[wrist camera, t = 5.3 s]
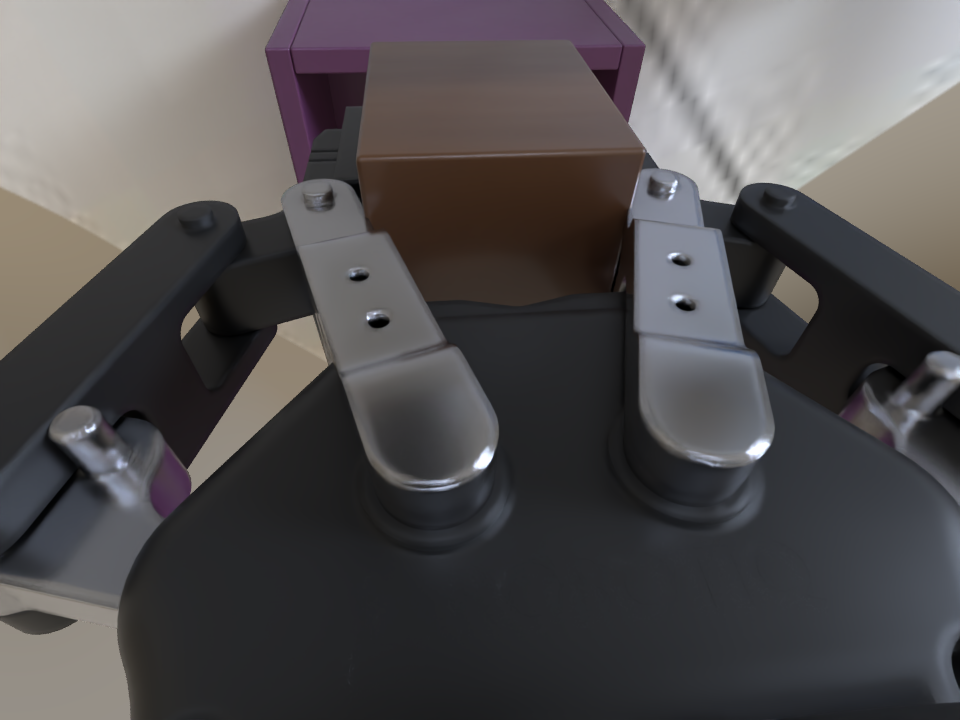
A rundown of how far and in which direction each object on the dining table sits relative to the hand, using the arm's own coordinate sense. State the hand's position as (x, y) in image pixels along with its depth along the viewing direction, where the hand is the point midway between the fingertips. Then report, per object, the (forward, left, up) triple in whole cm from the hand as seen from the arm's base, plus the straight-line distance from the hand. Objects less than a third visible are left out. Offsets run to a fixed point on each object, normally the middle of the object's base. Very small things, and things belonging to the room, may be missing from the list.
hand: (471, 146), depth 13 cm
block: (0, 0, 0) cm, 0 cm away
